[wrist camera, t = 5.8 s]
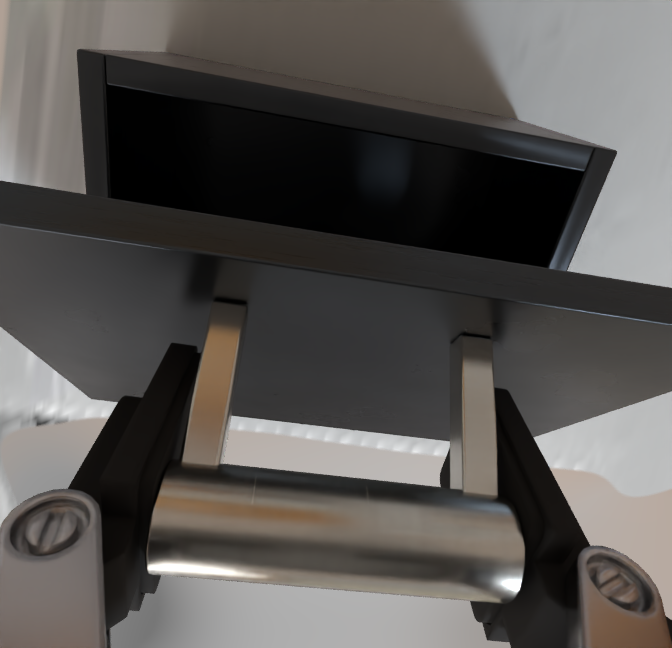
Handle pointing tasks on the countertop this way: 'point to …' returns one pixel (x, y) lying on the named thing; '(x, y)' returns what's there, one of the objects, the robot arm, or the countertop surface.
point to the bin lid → (324, 379)
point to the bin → (333, 158)
